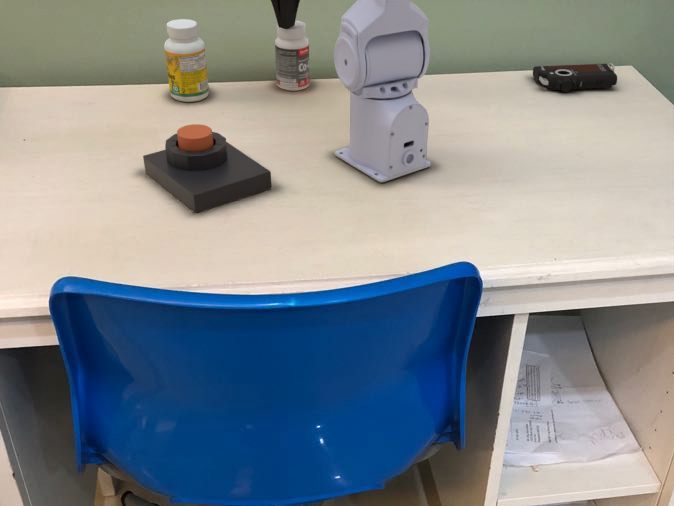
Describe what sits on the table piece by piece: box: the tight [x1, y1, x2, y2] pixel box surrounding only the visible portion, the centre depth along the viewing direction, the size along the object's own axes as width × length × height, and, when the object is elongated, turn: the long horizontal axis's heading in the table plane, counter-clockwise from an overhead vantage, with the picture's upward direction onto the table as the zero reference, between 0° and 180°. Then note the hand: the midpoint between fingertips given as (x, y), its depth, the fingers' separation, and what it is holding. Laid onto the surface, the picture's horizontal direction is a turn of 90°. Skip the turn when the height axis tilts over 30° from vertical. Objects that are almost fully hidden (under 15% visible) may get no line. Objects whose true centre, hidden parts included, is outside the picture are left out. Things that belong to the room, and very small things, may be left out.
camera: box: [532, 62, 618, 93], centre depth 126 cm, size 6×3×11 cm
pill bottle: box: [274, 19, 311, 92], centre depth 122 cm, size 5×5×8 cm
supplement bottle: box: [163, 18, 210, 103], centre depth 118 cm, size 5×5×10 cm
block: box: [142, 131, 272, 214], centre depth 100 cm, size 12×10×4 cm
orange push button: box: [176, 123, 214, 151], centre depth 100 cm, size 4×4×2 cm
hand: (286, 26), depth 118 cm, fingers closed
